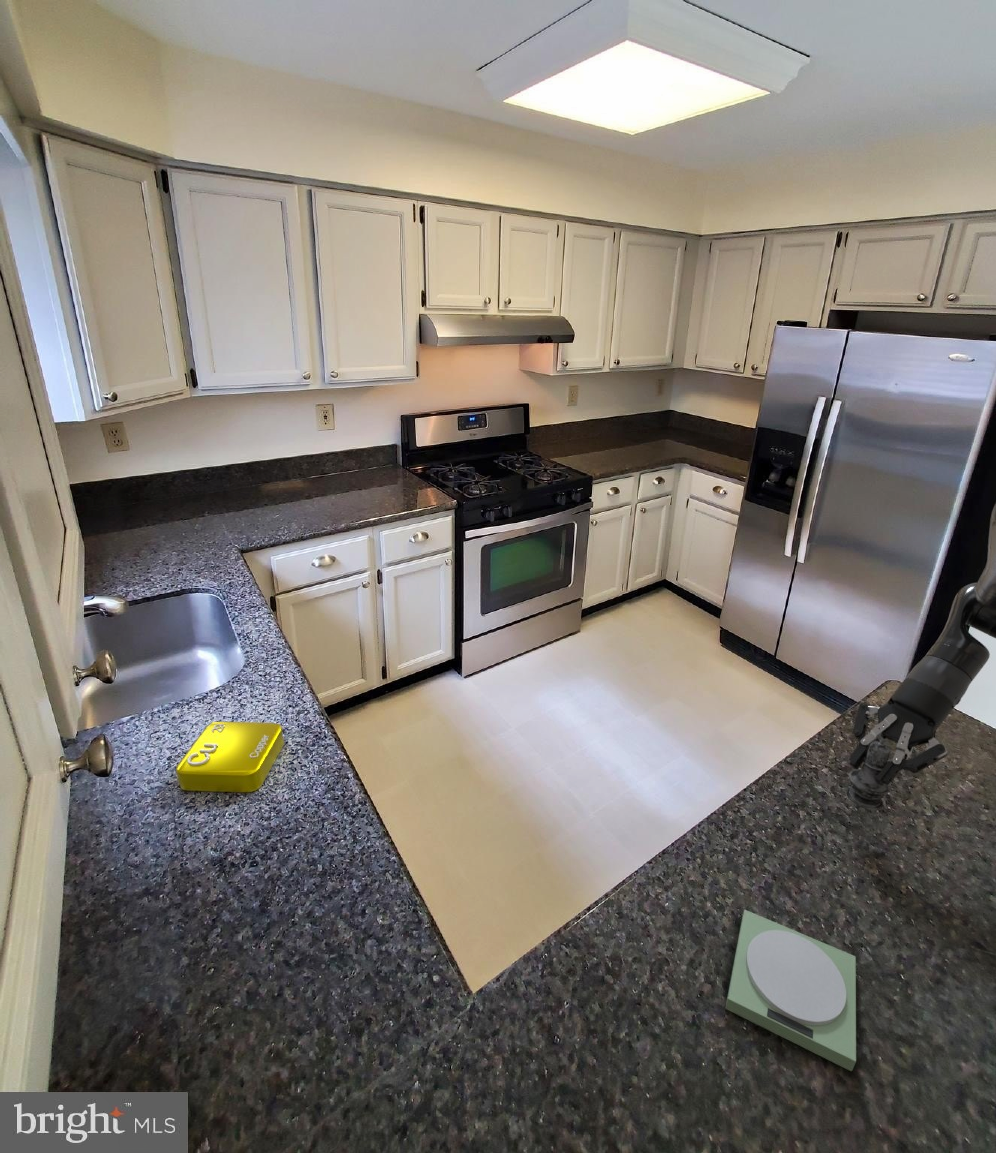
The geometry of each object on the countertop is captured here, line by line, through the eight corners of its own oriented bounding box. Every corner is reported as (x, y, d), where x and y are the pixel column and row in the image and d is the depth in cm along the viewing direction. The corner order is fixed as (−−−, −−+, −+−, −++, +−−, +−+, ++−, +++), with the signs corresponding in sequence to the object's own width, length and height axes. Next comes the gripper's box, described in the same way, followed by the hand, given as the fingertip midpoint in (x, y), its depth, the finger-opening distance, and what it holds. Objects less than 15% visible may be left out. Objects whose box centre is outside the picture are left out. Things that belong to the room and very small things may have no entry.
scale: (852, 966, 80) (857, 952, 79) (851, 1072, 69) (858, 1057, 67) (741, 918, 86) (745, 905, 85) (725, 1008, 75) (728, 994, 74)
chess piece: (888, 815, 95) (909, 755, 91) (847, 806, 97) (865, 746, 93) (880, 790, 101) (899, 732, 96) (841, 782, 102) (858, 724, 98)
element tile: (258, 794, 107) (254, 773, 105) (175, 791, 107) (170, 770, 105) (287, 739, 121) (284, 720, 119) (214, 737, 121) (210, 718, 119)
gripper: (881, 660, 100) (818, 741, 99) (976, 704, 88) (905, 796, 88) (891, 679, 104) (831, 756, 104) (983, 723, 93) (916, 811, 92)
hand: (865, 774), depth 96 cm, fingers closed on chess piece, 3 cm apart
